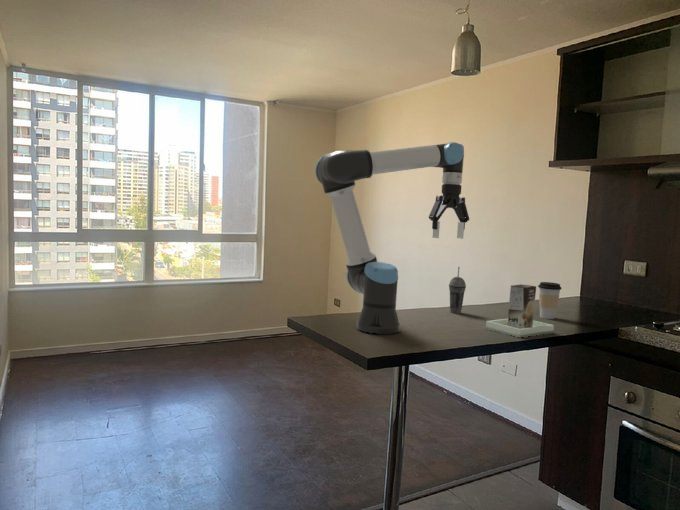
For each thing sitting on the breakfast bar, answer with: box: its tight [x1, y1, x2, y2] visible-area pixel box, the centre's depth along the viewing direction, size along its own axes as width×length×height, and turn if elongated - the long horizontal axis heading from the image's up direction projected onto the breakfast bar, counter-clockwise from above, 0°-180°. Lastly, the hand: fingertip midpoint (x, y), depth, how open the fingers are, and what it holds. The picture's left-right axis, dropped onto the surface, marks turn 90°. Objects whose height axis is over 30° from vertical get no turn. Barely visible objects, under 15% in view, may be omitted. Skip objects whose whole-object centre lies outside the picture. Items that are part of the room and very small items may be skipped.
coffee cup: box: [537, 281, 562, 320], centre depth 221 cm, size 9×9×15 cm
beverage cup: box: [448, 266, 467, 315], centre depth 222 cm, size 7×7×20 cm
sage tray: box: [485, 318, 555, 339], centre depth 192 cm, size 20×15×3 cm
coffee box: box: [507, 284, 537, 329], centre depth 192 cm, size 9×6×16 cm
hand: (448, 238), depth 203 cm, fingers open, 13 cm apart
